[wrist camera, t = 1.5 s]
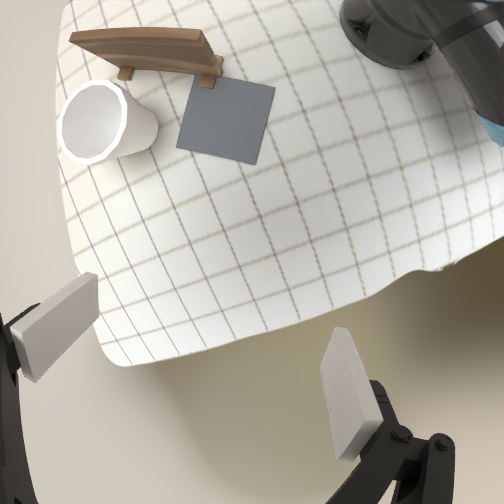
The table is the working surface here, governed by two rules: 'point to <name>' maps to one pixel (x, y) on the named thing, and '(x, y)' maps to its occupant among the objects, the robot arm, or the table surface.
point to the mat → (226, 118)
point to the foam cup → (104, 124)
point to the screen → (153, 51)
